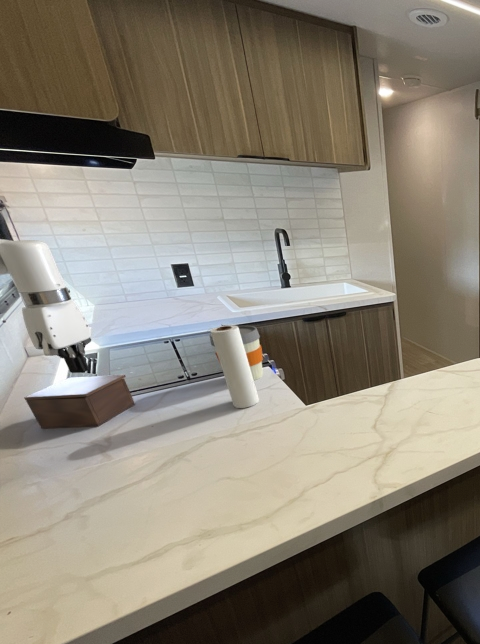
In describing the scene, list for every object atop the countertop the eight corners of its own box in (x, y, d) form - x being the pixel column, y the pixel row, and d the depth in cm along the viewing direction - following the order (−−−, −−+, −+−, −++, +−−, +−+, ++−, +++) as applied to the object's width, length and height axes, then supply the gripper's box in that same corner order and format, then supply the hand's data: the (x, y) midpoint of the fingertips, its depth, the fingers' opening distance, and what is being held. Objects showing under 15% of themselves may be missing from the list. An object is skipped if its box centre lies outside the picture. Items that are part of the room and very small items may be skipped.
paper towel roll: (252, 408, 106) (229, 331, 98) (229, 409, 106) (204, 331, 97) (265, 396, 113) (245, 322, 104) (243, 397, 112) (221, 323, 104)
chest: (135, 404, 109) (124, 378, 106) (98, 426, 99) (84, 398, 96) (83, 406, 109) (71, 380, 106) (41, 428, 98) (25, 400, 95)
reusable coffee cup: (272, 379, 124) (260, 332, 118) (224, 389, 117) (208, 340, 111) (266, 366, 133) (255, 322, 127) (222, 375, 126) (207, 330, 120)
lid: (126, 377, 106) (125, 374, 106) (86, 396, 95) (85, 394, 95) (70, 379, 106) (69, 377, 105) (25, 400, 95) (23, 397, 95)
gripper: (60, 290, 98) (91, 360, 105) (-8, 305, 84) (33, 384, 92) (92, 290, 98) (121, 360, 106) (30, 305, 85) (67, 384, 92)
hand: (80, 371), depth 99 cm, fingers closed
